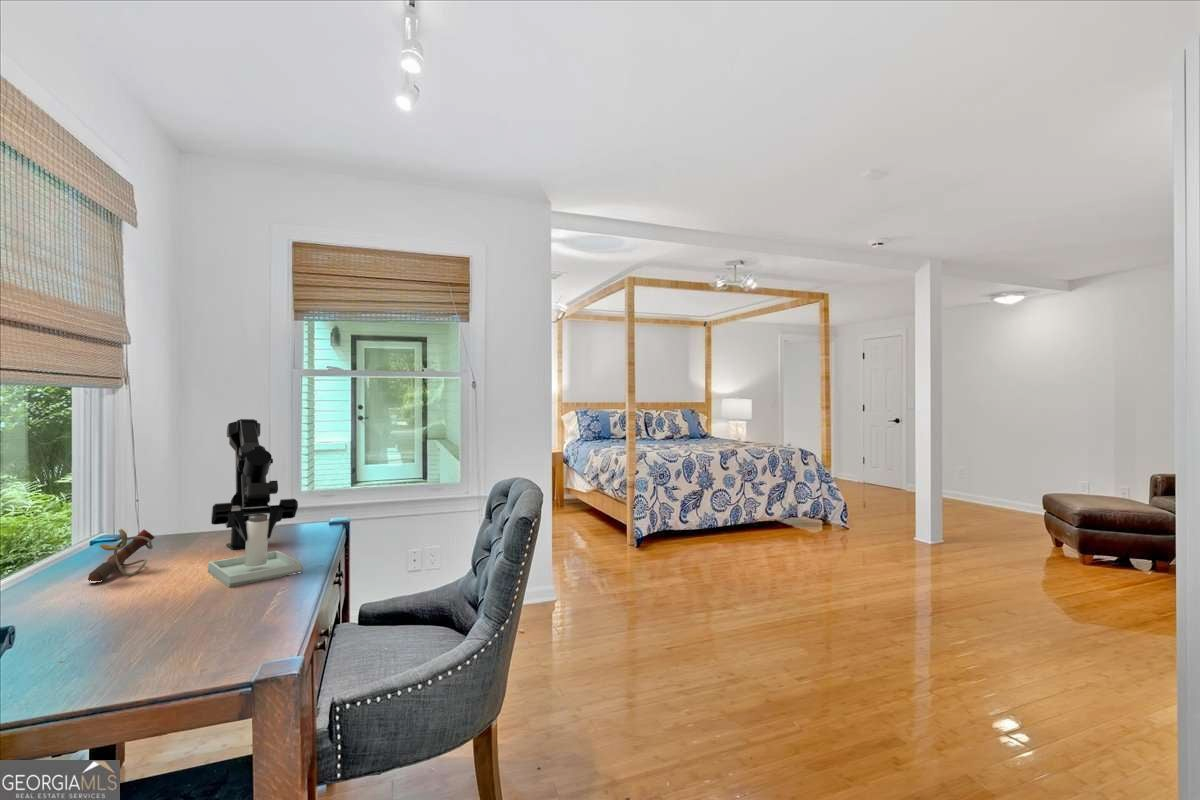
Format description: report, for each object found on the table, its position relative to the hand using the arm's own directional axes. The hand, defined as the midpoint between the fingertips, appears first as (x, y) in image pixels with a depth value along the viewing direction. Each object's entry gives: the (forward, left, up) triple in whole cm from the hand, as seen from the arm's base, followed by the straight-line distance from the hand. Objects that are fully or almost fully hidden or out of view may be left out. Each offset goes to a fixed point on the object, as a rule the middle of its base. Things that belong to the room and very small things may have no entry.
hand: (257, 538), depth 137 cm
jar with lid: (-1, 0, -7) cm, 7 cm away
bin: (-1, 0, -9) cm, 9 cm away
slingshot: (-20, -22, -9) cm, 31 cm away
